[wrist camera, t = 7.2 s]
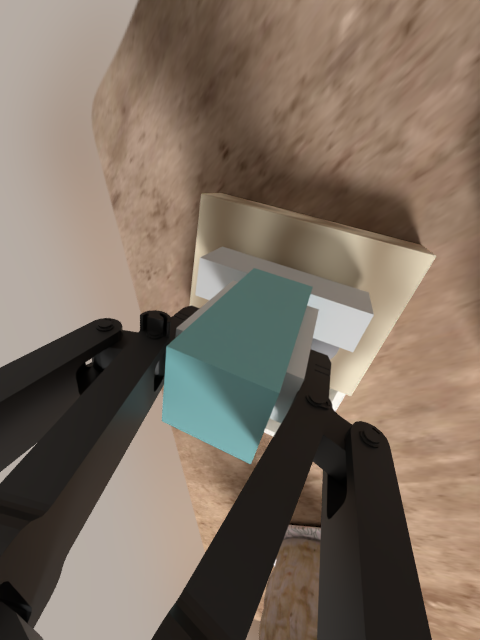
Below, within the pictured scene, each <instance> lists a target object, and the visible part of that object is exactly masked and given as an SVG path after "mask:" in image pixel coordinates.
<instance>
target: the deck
mask: <svg viewBox="0 0 480 640" xmlns="http://www.w3.org/2000/svg"><path fill="white" fill-rule="evenodd" d="M220 247H225V248H229V249H232V250H235V251H238V252H241V253H245V254H248V255H251V256H254V257H257V258H261V259H264V260H267V261H270V262H273V263H277V264H280V265H283V266H286V267H289V268H293V269H296V270H299V271H302V272H305V273H309V274H312V275H315V276H318V277H321V278H324V279H328V280H331V281H334V282H337V283H340V284H344V285H347V286H350V287H353V288H356V289H360V290H363V291H366V292H369V296H370V300H371V304H372V309H373V313H374V316H373V317H372V319H371V321H370V323H369V325H368V326H367V328H366V330H365V332H364V334H363V335H362V337H361V339H360V341H359V343H358V344H357V346H356V348H355V350H354V352H350V351H348V350H345V349H342V348H339V350H338V352H337V354H336V355H335V356H334V357H333V358H331V359H330V361H331V376H330V388H331V389H334V390H336V391H339V392H341V393H344V394H346V395H349V396H351V395H352V393H353V392H354V390H355V389H356V387H357V385H358V384H359V382H360V380H361V379H362V377H363V375H364V374H365V372H366V371H367V369H368V367H369V366H370V364H371V362H372V361H373V359H374V357H375V356H376V354H377V352H378V351H379V349H380V348H381V346H382V344H383V343H384V341H385V339H386V338H387V336H388V334H389V333H390V331H391V330H392V328H393V326H394V325H395V323H396V321H397V320H398V318H399V316H400V315H401V313H402V312H403V310H404V308H405V307H406V305H407V303H408V302H409V300H410V298H411V297H412V295H413V294H414V292H415V290H416V289H417V287H418V285H419V284H420V282H421V280H422V279H423V277H424V276H425V274H426V272H427V271H428V269H429V267H430V266H431V264H432V262H433V261H434V259H435V257H436V255H434V254H433V253H432V252H430V251H429V250H428V249H426V248H425V247H424V246H422V245H420V244H416V243H412V242H408V241H404V240H401V239H397V238H393V237H389V236H385V235H381V234H377V233H374V232H370V231H366V230H362V229H358V228H354V227H351V226H347V225H343V224H339V223H335V222H331V221H327V220H324V219H320V218H316V217H312V216H308V215H304V214H301V213H297V212H293V211H289V210H285V209H281V208H277V207H274V206H270V205H266V204H262V203H258V202H254V201H251V200H247V199H243V198H239V197H235V196H231V195H227V194H224V193H204V194H201V200H200V210H199V219H198V229H197V238H196V248H195V257H194V267H193V277H192V286H191V296H190V305H189V306H191V305H192V306H195V307H197V308H201V307H202V306H203V305H204V304H206V303H207V302H208V301H209V300H207V299H205V298H202V297H199V296H196V295H195V293H196V285H197V276H198V268H199V260H200V257H202V256H204V255H206V254H208V253H210V252H212V251H214V250H216V249H218V248H220Z"/></svg>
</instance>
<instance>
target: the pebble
mask: <svg viewBox="0 0 480 640" xmlns="http://www.w3.org/2000/svg"><path fill="white" fill-rule="evenodd" d="M311 349H312V350H314V351H317V352H320V353H322V354H325V355H328V357H329V359H331V358H333V357H334V356H335V355H336V354H337V352H338V350H339V347H337V346H334V345H331V344H328V343H326V342H323V341H320V340H317V339H315V338H313V340H312V344H311Z"/></svg>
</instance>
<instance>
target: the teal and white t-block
mask: <svg viewBox="0 0 480 640" xmlns="http://www.w3.org/2000/svg"><path fill="white" fill-rule="evenodd" d="M232 281H236V282H238V283H237V284H236V285H234V286H233V287H232V288H231V289H230V290H229V291H228V292H227V293H225V294H224V295H223V296H222V297H221V298H220V299H219V300H218V301H217V302H215V303H214V304H213V305H212V306H211V307H210V308H209V309H208V310H206V311H205V312H204V313H203V314H202V315H201V316H200V317H199V318H198V319H196V320H195V321H194V322H193V323H192V324H191V325H190V326H189V327H187V328H186V329H185V330H184V331H183V332H182V333H181V334H180V335H178V336H177V337H176V338H175V339H174V340H173V341H172V342H171V343H170V344H168V345H167V347H166V363H165V379H164V395H163V410H162V421H163V422H165V423H167V424H169V425H171V426H173V427H175V428H177V429H179V430H181V431H183V432H185V433H187V434H189V435H191V436H194V437H196V438H198V439H200V440H202V441H204V442H206V443H208V444H210V445H212V446H214V447H216V448H218V449H220V450H222V451H224V452H226V453H228V454H230V455H232V456H234V457H236V458H239V459H241V460H243V461H245V462H247V463H249V464H251V462H252V460H253V458H254V455H255V453H256V450H257V448H258V445H259V443H260V440H261V438H262V435H263V433H264V430H265V428H266V425H267V423H268V421H269V418H270V416H271V413H272V411H273V408H274V406H275V403H276V401H277V398H278V396H279V393H280V390H281V387H282V384H283V381H284V377H285V374H286V371H287V368H288V365H289V362H290V358H291V355H292V352H293V349H294V346H295V342H296V339H297V336H298V333H299V330H300V326H301V323H302V320H303V317H304V314H305V311H306V307H307V306H310V307H313V308H316V309H319V311H318V316H317V321H316V325H315V330H314V335H313V338H315V339H317V340H320V341H323V342H326V343H328V344H331V345H334V346H337V347H339V348H342V349H345V350H348V351H350V352H354V350H355V348H356V346H357V344H358V343H359V341H360V339H361V337H362V335H363V334H364V332H365V330H366V328H367V326H368V325H369V323H370V321H371V319H372V317H373V316H374V313H373V309H372V304H371V300H370V296H369V292H366V291H363V290H360V289H356V288H353V287H350V286H347V285H344V284H340V283H337V282H334V281H331V280H328V279H324V278H321V277H318V276H315V275H312V274H309V273H305V272H302V271H299V270H296V269H293V268H289V267H286V266H283V265H280V264H277V263H273V262H270V261H267V260H264V259H261V258H257V257H254V256H251V255H248V254H245V253H241V252H238V251H235V250H232V249H229V248H225V247H220V248H218V249H216V250H214V251H212V252H210V253H208V254H206V255H204V256H202V257H200V260H199V268H198V276H197V285H196V293H195V295H196V296H199V297H202V298H205V299H207V300H210V299H212V298H213V297H214V296H215V295H216V294H218V293H219V292H220V291H221V290H222V289H224V288H225V287H226V286H227V285H228V284H229V283H231V282H232Z"/></svg>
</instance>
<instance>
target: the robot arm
mask: <svg viewBox="0 0 480 640" xmlns="http://www.w3.org/2000/svg"><path fill="white" fill-rule="evenodd" d="M237 283H238V282H236V281H232V282H231V283H229V284H228V285H227V286H226V287H225V288H224V289H222V290H221V291H220V292H219V293H218V294H216V295H215V296H214V297H213V298H212V299H210V300H209V301H208V302H207V303H206V304H204V305H203V306H202V307H201V308H197V307H195V306H192V305H191V306H188V307H185V308H183V309H181V310H180V311H179V312H178V313H176V314H175V315H174V316H172V317H170V316H169V315H168V314H167V313H165V312H162V311H156V310H155V311H147V312H144V313H142V314H141V315H140V331H139V332H131V331H125V330H122V324H121V323H120V322H119V321H118V320H115V319H111V318H104V319H98V320H95V321H93V322H91V323H89V324H87V325H85V326H83V327H81V328H79V329H77V330H75V331H73V332H71V333H69V334H67V335H65V336H63V337H61V338H59V339H57V340H55V341H53V342H51V343H49V344H47V345H45V346H43V347H41V348H39V349H37V350H35V351H33V352H31V353H29V354H27V355H25V356H23V357H21V358H19V359H17V360H15V361H13V362H11V363H9V364H7V365H5V366H3V367H1V368H0V472H1V471H2V470H3V469H4V468H6V467H7V466H8V465H10V464H11V463H12V462H13V461H15V460H16V459H17V458H18V457H20V456H21V455H22V454H23V453H25V452H26V451H27V450H29V449H30V448H31V447H32V446H34V445H35V444H36V443H37V442H38V443H37V444H36V445H35V446H34V447H33V448H32V449H31V451H30V452H29V453H28V454H27V455H26V456H25V457H24V458H23V459H22V460H21V461H20V463H19V464H18V465H17V466H16V467H15V468H14V469H13V470H12V471H11V472H10V474H9V475H8V476H7V477H6V478H5V479H4V480H3V481H2V482H1V483H0V640H43V639H42V637H41V636H40V635H39V634H38V633H37V632H36V631H35V630H34V629H33V628H34V626H35V625H36V623H37V621H38V619H39V618H40V616H41V614H42V612H43V610H44V608H45V607H46V605H47V603H48V601H49V599H50V597H51V595H52V593H53V591H54V589H55V587H56V585H57V583H58V580H59V578H60V574H61V571H62V567H63V564H64V561H65V559H66V556H67V554H68V553H69V550H70V549H71V547H72V545H73V544H74V542H75V540H76V538H77V537H78V535H79V533H80V531H81V530H82V528H83V526H84V524H85V522H86V521H87V519H88V517H89V515H90V514H91V512H92V510H93V508H94V507H95V505H96V503H97V501H98V500H99V498H100V496H101V494H102V493H103V491H104V489H105V487H106V486H107V484H108V482H109V480H110V478H111V477H112V475H113V473H114V471H115V470H116V468H117V466H118V464H119V463H120V461H121V459H122V457H123V456H124V454H125V452H126V450H127V449H128V447H129V445H130V443H131V441H132V440H133V438H134V436H135V434H136V433H137V431H138V429H139V427H140V426H141V424H142V422H143V420H144V418H145V417H146V415H147V413H148V412H149V410H150V408H151V406H152V405H153V403H154V401H155V399H156V398H157V396H158V394H159V392H160V391H161V389H162V387H163V385H164V379H165V363H166V347H167V345H168V344H170V343H171V342H172V341H173V340H174V339H175V338H176V337H177V336H178V335H180V334H181V333H182V332H183V331H184V330H185V329H186V328H187V327H189V326H190V325H191V324H192V323H193V322H194V321H195V320H196V319H198V318H199V317H200V316H201V315H202V314H203V313H204V312H205V311H206V310H208V309H209V308H210V307H211V306H212V305H213V304H214V303H215V302H217V301H218V300H219V299H220V298H221V297H222V296H223V295H224V294H225V293H227V292H228V291H229V290H230V289H231V288H232V287H233V286H234V285H236V284H237ZM318 311H319V309H316V308H313V307H310V306H307V307H306V311H305V314H304V317H303V320H302V323H301V326H300V330H299V333H298V336H297V339H296V342H295V346H294V349H293V352H292V355H291V358H290V362H289V365H288V368H287V371H286V374H285V377H284V381H283V384H282V387H281V390H280V393H279V396H278V398H277V401H276V403H275V406H274V408H273V411H272V413H271V416H270V419H272V420H274V421H277V422H279V423H281V425H280V426H279V428H278V430H277V431H276V433H275V435H274V436H273V438H272V440H271V442H270V443H269V445H268V447H267V448H266V450H265V452H264V454H263V455H262V457H261V459H260V460H259V462H258V464H257V465H256V467H255V469H254V471H253V472H252V474H251V476H250V477H249V479H248V481H247V483H246V484H245V486H244V488H243V489H242V491H241V493H240V494H239V496H238V498H237V500H236V501H235V503H234V505H233V506H232V508H231V510H230V511H229V513H228V515H227V517H226V518H225V520H224V522H223V523H222V525H221V527H220V529H219V530H218V532H217V534H216V535H215V537H214V539H213V540H212V542H211V544H210V546H209V547H208V549H207V551H206V552H205V554H204V556H203V558H202V559H201V561H200V563H199V565H198V566H197V568H196V570H195V571H194V573H193V575H192V576H191V578H190V580H189V581H188V583H187V585H186V587H185V588H184V590H183V592H182V593H181V595H180V597H179V598H178V600H177V601H176V603H175V604H174V606H173V607H172V608H171V610H170V611H169V612H168V614H167V616H166V617H165V618H164V620H163V621H162V623H161V625H160V626H159V628H158V630H157V631H156V633H155V634H154V636H153V638H152V639H151V640H245V639H246V637H247V634H248V632H249V629H250V626H251V624H252V621H253V618H254V616H255V613H256V611H257V608H258V605H259V603H260V600H261V597H262V595H263V592H264V589H265V587H266V584H267V581H268V579H269V576H270V573H271V571H272V568H273V566H274V563H275V560H276V558H277V555H278V552H279V550H280V547H281V544H282V542H283V539H284V536H285V534H286V531H287V528H288V526H289V523H290V521H291V518H292V515H293V513H294V510H295V507H296V505H297V502H298V499H299V497H300V494H301V491H302V489H303V486H304V483H305V481H306V478H307V475H308V473H309V470H310V468H311V465H312V462H314V463H315V464H317V465H318V466H319V467H320V468H321V469H323V484H322V512H321V540H320V568H319V596H318V624H317V640H432V638H431V634H430V629H429V624H428V620H427V615H426V611H425V606H424V601H423V597H422V592H421V588H420V583H419V578H418V574H417V569H416V564H415V560H414V555H413V551H412V546H411V541H410V537H409V532H408V528H407V523H406V518H405V514H404V509H403V505H402V500H401V495H400V491H399V486H398V482H397V477H396V472H395V468H394V463H393V458H392V454H391V449H390V445H389V443H388V440H387V438H386V437H385V436H384V435H383V433H382V432H381V431H380V430H378V429H377V428H376V427H375V426H373V425H371V424H369V423H366V422H362V421H359V422H355V423H354V424H353V425H352V424H350V423H349V422H347V421H346V420H345V419H343V418H342V417H341V416H339V415H338V414H337V413H336V412H335V411H334V409H333V408H332V403H331V400H330V399H329V390H330V376H331V361H330V359H329V357H328V355H325V354H322V353H320V352H317V351H314V350H312V349H311V344H312V340H313V335H314V330H315V325H316V321H317V316H318ZM91 358H92V362H91V363H90V364H87V365H86V364H85V362H86V361H88V360H90V359H91Z"/></svg>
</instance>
